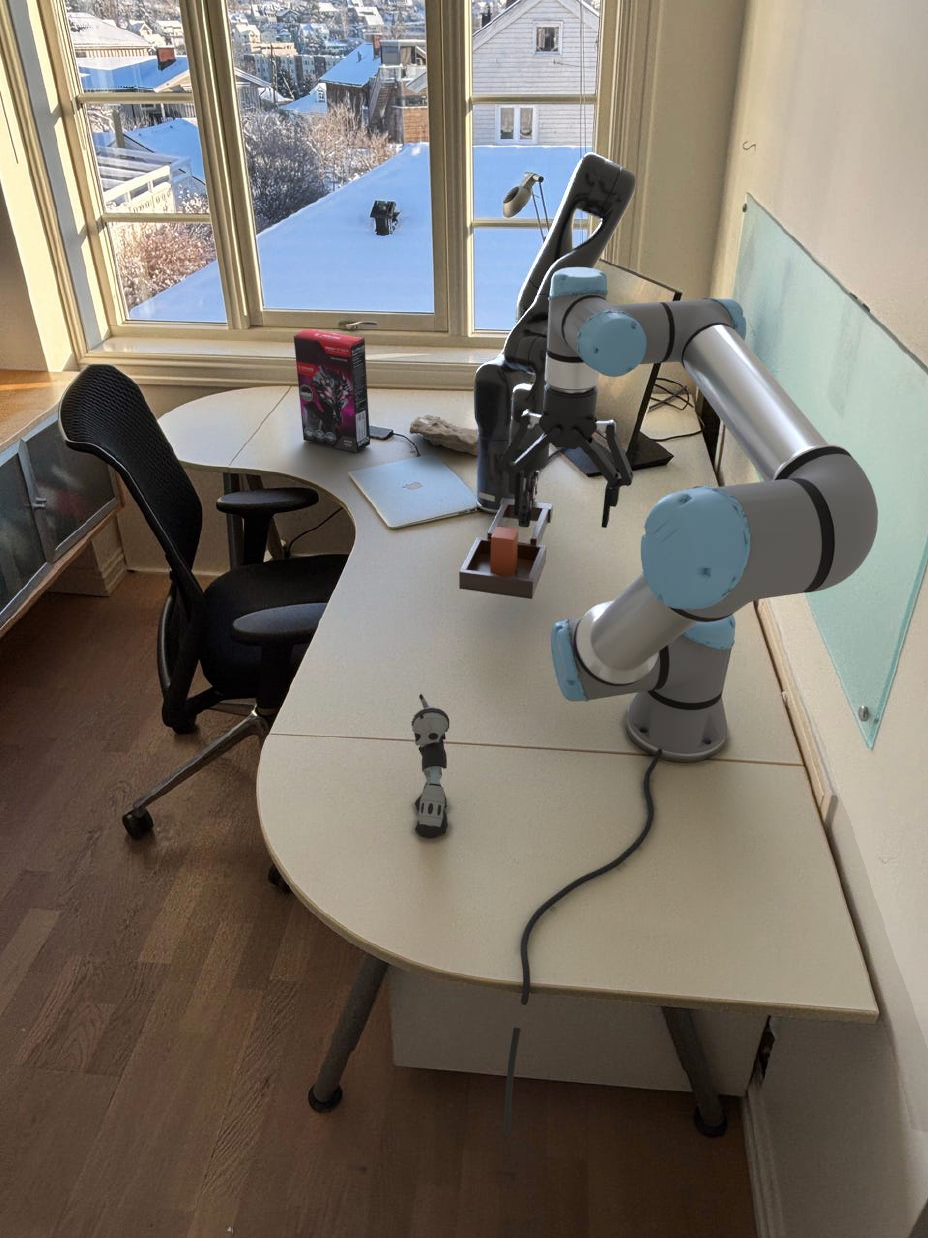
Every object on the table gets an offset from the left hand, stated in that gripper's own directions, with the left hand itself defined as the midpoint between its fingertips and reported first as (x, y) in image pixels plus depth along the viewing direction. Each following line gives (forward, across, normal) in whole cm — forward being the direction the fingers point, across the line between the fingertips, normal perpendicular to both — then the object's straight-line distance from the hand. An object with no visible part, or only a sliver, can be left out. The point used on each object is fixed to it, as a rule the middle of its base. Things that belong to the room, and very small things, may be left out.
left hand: (525, 522), depth 181 cm
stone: (+9, +52, +31) cm, 61 cm away
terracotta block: (0, -20, 0) cm, 20 cm away
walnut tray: (0, -13, 0) cm, 13 cm away
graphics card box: (+9, +45, +58) cm, 74 cm away
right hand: (-19, -32, -11) cm, 39 cm away
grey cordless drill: (+9, -72, -2) cm, 73 cm away
